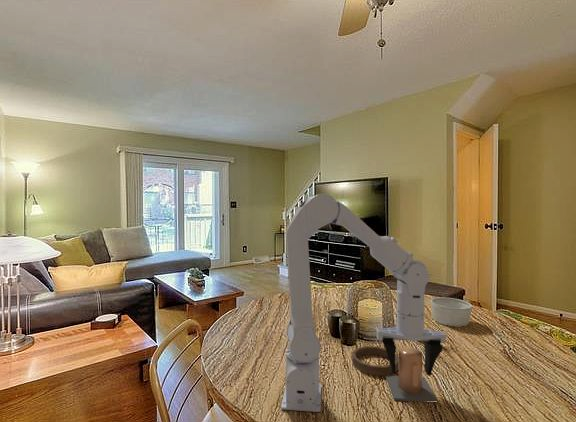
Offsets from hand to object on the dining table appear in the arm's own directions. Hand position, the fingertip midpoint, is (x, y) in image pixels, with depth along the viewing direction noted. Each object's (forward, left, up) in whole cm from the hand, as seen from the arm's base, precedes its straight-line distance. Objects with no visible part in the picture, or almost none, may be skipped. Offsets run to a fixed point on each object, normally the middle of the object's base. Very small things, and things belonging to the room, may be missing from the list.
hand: (410, 372), depth 70 cm
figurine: (+29, -10, -4) cm, 31 cm away
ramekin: (+45, -26, -4) cm, 52 cm away
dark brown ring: (+11, +6, -4) cm, 13 cm away
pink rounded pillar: (0, 0, -3) cm, 3 cm away
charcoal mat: (0, 0, -4) cm, 4 cm away
